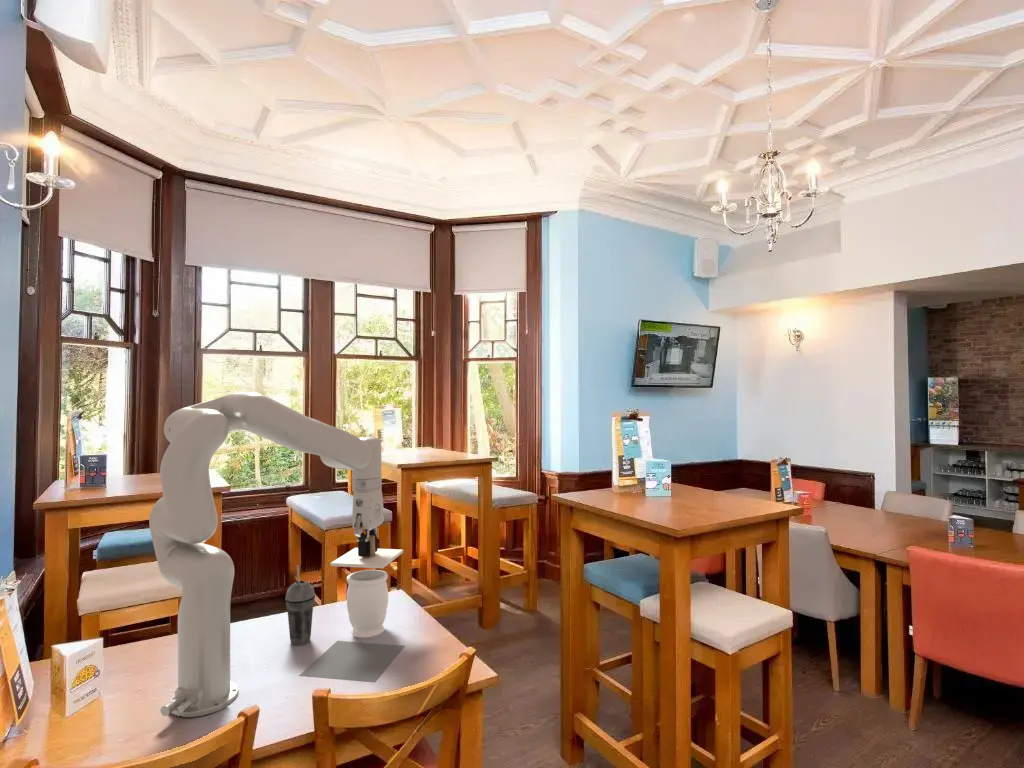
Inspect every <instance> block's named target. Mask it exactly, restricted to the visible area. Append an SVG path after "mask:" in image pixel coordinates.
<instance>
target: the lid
mask: <svg viewBox="0 0 1024 768" xmlns="http://www.w3.org/2000/svg"><path fill="white" fill-rule="evenodd" d="M369 541H370V553H371V555H370V556H369V557H362V556H358V547H354V548H352V549H351V550H349V551H347V552H346V553H344V554H343V555H341V556H339V557H338V558H336V559H334V560H333V561H332V562H330V567H344V568H363V569H384V568H385V567H387V566H388V565H390V563H392V562H393V561H394V560H396V559H398V557H400V556H401V555H402V554H403V553H404V549H396V548H377V551H376V552H375V536H373V535H369Z"/></svg>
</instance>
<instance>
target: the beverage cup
mask: <svg viewBox="0 0 1024 768" xmlns="http://www.w3.org/2000/svg"><path fill="white" fill-rule="evenodd" d="M296 572H297V573H296V574H297V581H295V582H294V583H292V584H291V585H290V586H289V587H288V588H287V590H286V594H285V597H284V602H285V606H286V610H287V617H288V622H287V623H288V629H289V640H290V645H292V646H295V647H297V646H304V645H307V644H309V643H310V642H311V635H312V626H313V625H312V624H313V613H314V605H315V599H316V592H315V589H314V587H313V585H312V584H311V583H310V582H308V581H305V580H301V577H300V565H296Z"/></svg>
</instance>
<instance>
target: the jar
mask: <svg viewBox="0 0 1024 768" xmlns="http://www.w3.org/2000/svg"><path fill="white" fill-rule="evenodd" d="M388 578H389V575H388V572H386V571H385V570H379V569H365V570H358V571H354V572H352V573H350V574H348V575H347V576H346V582H347V584H348V586H347V592H346V608H347V613H348V619H349V624H350V625H351V627H352V629H351V632H350V634H351V635H352V636H353V637H357V638H370V637H371V638H372V637H375V636H378V635H382V633H384V631H385V626H384V623H385V620H386V617H387V608H388V604H389V588H388V583H387V580H388Z"/></svg>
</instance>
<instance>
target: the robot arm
mask: <svg viewBox="0 0 1024 768" xmlns="http://www.w3.org/2000/svg"><path fill="white" fill-rule="evenodd" d="M235 430H238V431H240V430H241V431H243V430H244V431H247V432H250V433H252V434H255V435H256V436H259V437H262V438H264V439H266V440H269V441H271V442H274V443H275V444H276V445H277V444H278V445H279V446H282V447H284V448H286V449H289V450H292V451H296V452H299V453H304V454H305V453H306V454H310V455H316V456H319V459H320V460H321V462H322V463H323V464H324V465H325V466H327V467H330V468H333V469H339V470H348V471H351V475H352V476H351V479H352V480H351V481H352V484H351V485H352V490H351V491H352V492H353V497H352V512H351V513H352V514H351V515H352V519H351V520H352V528H353V529H354V531H353V534H354V536H355V537H356V538H357V539H356V541H357V548H358V556H362V557H369V556H370V555H371V553H370V541H369V535H373V536H375V552H376V551H377V549H378V535H379V533H378V528H379V526H381V525H382V524H383V523H384V522H385V513H384V512H385V511H384V510H385V509H384V497H383V491H382V487H383V486H382V484H383V483H382V481H383V480H382V479H383V478H382V441H381V439H380V438H378V437H376V436H363V437H357V436H356V435H354V434H352V433H349V432H347V431H345V430H344V429H341V428H339V427H335V426H333V425H331V424H327V423H324V422H322V421H320V420H318V419H316V418H315V419H314V418H313V417H310V416H307V415H305V414H303V413H302V412H301V413H300V412H298V411H296V410H295V409H292V408H290V407H288V406H286V405H285V404H284V403H280V402H279V401H278V400H277V401H276V400H275V399H273V398H271V397H268V396H266V395H264V394H262V393H259V392H233V393H227V394H225V395H222V396H219V397H215V398H213V399H209V400H206V401H202V402H199V403H195V404H193V405H189V406H186V407H182V408H179V409H177V410H175V411H173V412H172V413H171V414H170V415H169V416H168V417H167V418H166V420H165V422H164V426H163V433H164V437H165V438H166V440H167V441H168V442H169V444H168V446H167V448H166V450H165V451H164V453H163V456H162V459H161V462H160V469H159V476H160V485H161V491H162V497H160V498H159V499H158V500H157V501H156V502H155V503H154V505H153V507H152V508H151V511H150V513H149V514H150V515H149V519H148V520H149V522H148V523H149V530H150V536H151V540H152V545H153V549H154V555H155V558H156V562H157V565H158V568H159V571H160V574H161V576H162V578H163V579H165V580H166V581H167V582H168V583H169V584H171V585H173V586H175V587H177V588H180V589H181V592H182V593H181V600H180V603H179V607H178V613H177V688H176V689H174V695H173V696H172V698H171V699H170V700H169V702H167V703H166V704H164V705H163V706H161V708H160V714H161V715H162V716H164V717H168V716H169V715H170V714H171V715H173V716H176V715H177V716H176V717H179V716H182V717H181V718H195V717H203V716H207V715H210V714H213V713H215V712H218V711H221V710H222V709H224V708H226V707H228V706H230V705H231V703H233V701H234V700H236V698H237V697H238V696H239V690H240V689H239V686H238V684H237V683H235V682H234V681H231V597H232V590H233V584H234V577H235V565H234V562H233V560H232V558H231V555H229V554H228V553H227V552H226V551H225V550H223V549H222V548H219V547H217V546H214V545H211V544H207V543H204V542H206V541H208V540H209V539H211V538H212V537H213V536H214V535H215V532H216V530H217V529H218V523H219V519H218V512H217V508H216V504H215V499H214V493H213V490H212V485H211V480H210V464H211V461H212V458H213V457H214V455H215V453H216V452H217V450H218V449H219V448H220V447H221V446H222V445H223V444H224V443H225V441H226V440H227V438H228V435H229V433H230V432H232V431H235Z"/></svg>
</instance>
